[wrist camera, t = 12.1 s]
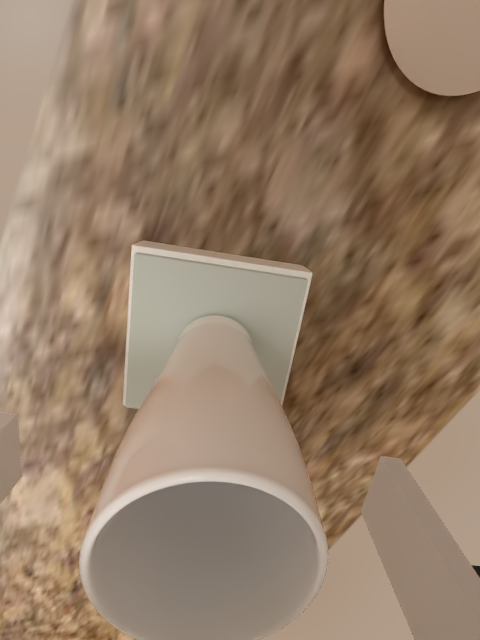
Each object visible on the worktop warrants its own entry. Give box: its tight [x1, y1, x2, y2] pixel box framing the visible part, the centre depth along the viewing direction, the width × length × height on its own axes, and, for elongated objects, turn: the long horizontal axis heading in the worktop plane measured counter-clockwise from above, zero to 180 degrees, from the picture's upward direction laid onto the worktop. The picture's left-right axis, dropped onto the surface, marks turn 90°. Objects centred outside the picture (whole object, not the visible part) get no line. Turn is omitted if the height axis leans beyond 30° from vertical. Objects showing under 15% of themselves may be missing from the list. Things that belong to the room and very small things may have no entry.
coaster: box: [123, 240, 313, 409], centre depth 25 cm, size 12×12×4 cm
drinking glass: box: [79, 315, 328, 640], centre depth 16 cm, size 7×7×15 cm
